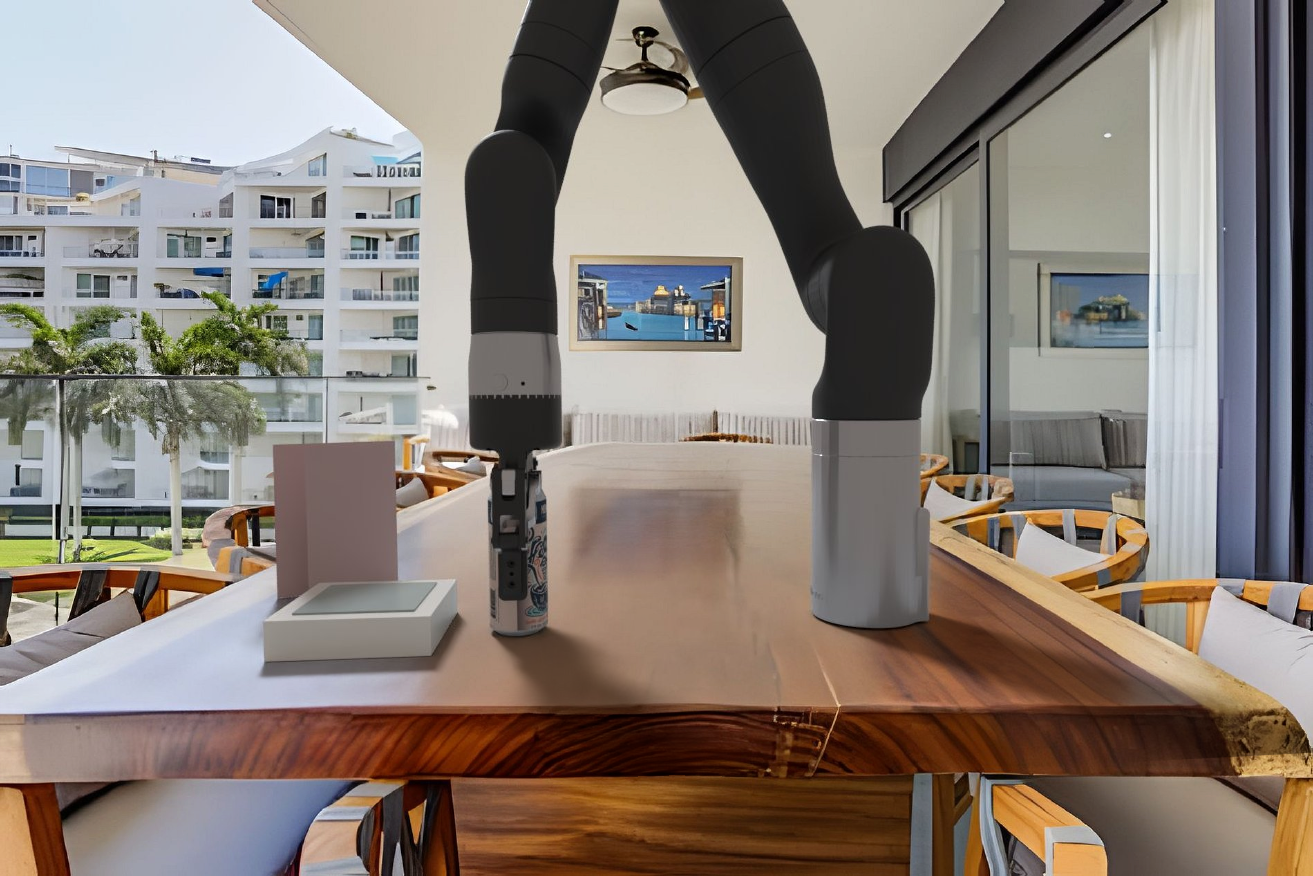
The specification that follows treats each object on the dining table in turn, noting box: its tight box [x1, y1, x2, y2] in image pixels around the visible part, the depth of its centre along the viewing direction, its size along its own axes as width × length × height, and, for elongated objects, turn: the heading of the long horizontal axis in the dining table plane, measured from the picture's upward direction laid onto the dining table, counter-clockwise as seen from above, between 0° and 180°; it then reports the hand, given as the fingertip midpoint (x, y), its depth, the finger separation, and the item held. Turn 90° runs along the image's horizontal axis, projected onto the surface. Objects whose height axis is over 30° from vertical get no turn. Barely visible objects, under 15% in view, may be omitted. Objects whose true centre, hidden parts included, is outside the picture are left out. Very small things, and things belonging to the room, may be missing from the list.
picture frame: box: [262, 578, 459, 663], centre depth 63 cm, size 12×12×3 cm
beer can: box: [487, 486, 549, 637], centre depth 64 cm, size 5×5×12 cm
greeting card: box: [272, 440, 399, 599], centre depth 75 cm, size 11×7×15 cm, turn 121°
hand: (518, 586), depth 64 cm, fingers open, 8 cm apart
